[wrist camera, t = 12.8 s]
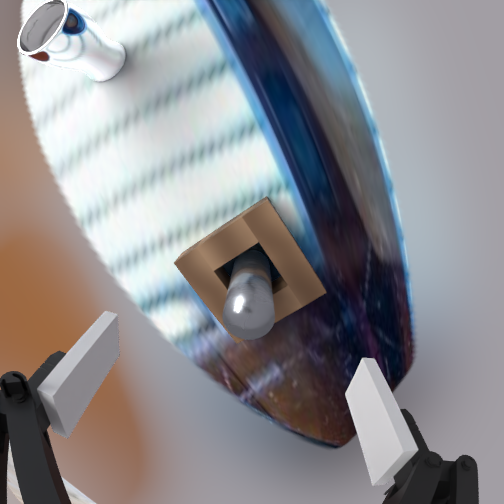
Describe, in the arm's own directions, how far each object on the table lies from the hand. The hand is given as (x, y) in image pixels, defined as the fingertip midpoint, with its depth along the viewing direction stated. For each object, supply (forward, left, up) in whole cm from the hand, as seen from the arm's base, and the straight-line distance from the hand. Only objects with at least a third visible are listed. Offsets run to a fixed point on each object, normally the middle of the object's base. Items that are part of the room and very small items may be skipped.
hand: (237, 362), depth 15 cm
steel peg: (+1, +2, -23) cm, 23 cm away
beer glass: (+2, -32, -23) cm, 39 cm away
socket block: (+1, +2, -23) cm, 23 cm away
